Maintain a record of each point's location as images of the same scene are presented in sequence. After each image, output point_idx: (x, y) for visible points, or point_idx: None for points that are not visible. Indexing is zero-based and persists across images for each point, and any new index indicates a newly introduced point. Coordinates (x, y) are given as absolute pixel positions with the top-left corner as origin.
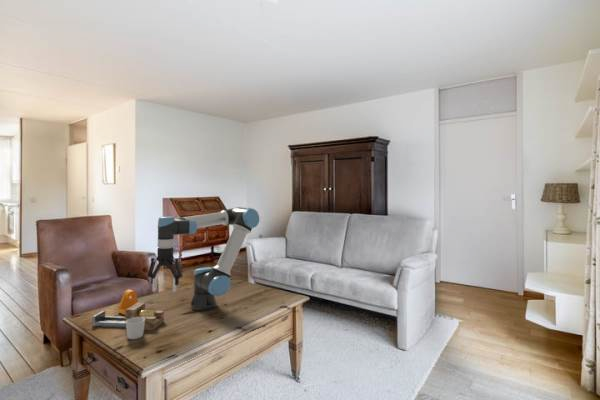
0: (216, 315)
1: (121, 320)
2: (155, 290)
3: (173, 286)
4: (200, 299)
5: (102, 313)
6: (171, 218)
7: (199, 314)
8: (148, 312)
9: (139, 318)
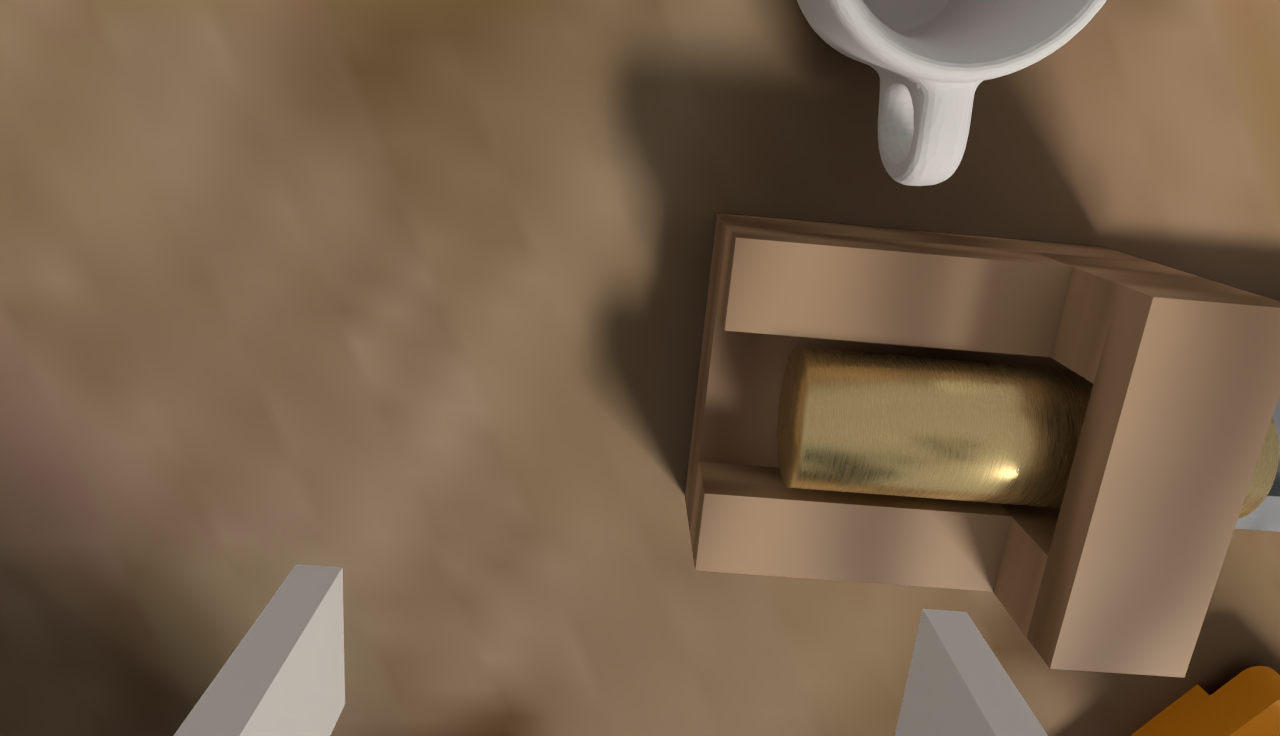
0: (69, 686)
1: None
2: (906, 685)
3: (256, 683)
4: None
5: None
6: None
7: None
8: (888, 402)
9: (944, 53)
